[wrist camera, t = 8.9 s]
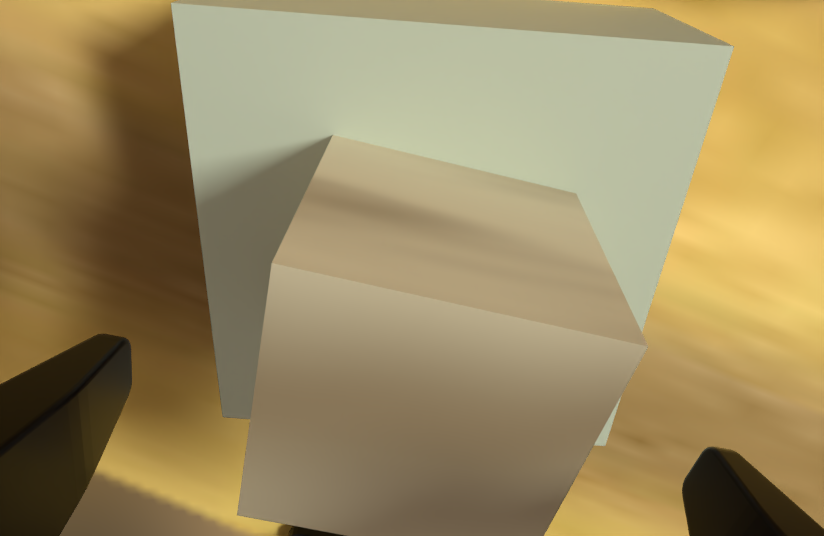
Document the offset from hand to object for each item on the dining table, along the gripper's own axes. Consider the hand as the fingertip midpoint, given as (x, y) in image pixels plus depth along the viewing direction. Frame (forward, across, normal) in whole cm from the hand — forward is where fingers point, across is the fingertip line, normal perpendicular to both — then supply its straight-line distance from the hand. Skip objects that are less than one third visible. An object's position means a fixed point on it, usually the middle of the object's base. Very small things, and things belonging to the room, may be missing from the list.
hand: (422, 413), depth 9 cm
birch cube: (+5, 0, 0) cm, 5 cm away
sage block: (+10, 0, 0) cm, 10 cm away
